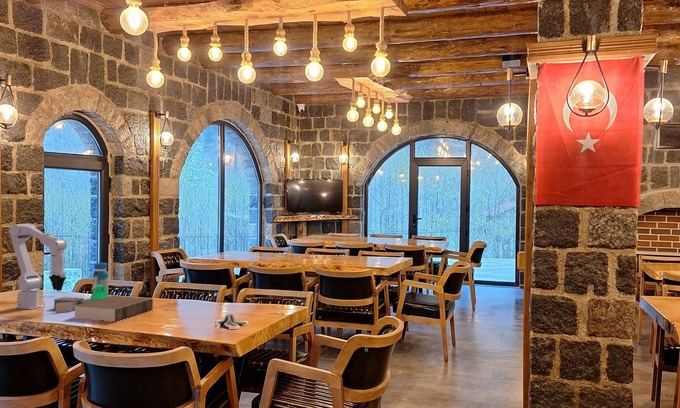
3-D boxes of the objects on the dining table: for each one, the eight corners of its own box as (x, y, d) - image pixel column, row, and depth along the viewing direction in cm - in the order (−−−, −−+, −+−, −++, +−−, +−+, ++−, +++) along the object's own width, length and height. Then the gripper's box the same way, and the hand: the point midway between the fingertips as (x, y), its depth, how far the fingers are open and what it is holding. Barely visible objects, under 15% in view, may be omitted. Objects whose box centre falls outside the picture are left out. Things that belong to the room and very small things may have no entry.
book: (152, 311, 285) (152, 298, 284) (116, 323, 258) (116, 309, 258) (112, 308, 291) (112, 295, 291) (73, 319, 264) (73, 305, 264)
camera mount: (97, 307, 291) (97, 288, 290) (88, 305, 295) (88, 286, 295) (117, 303, 301) (117, 285, 301) (108, 302, 305) (108, 283, 305)
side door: (56, 312, 275) (56, 303, 275) (55, 312, 276) (55, 303, 276) (74, 310, 280) (74, 302, 280) (74, 310, 282) (74, 301, 281)
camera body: (54, 309, 284) (54, 298, 284) (63, 306, 291) (64, 295, 291) (76, 310, 281) (76, 299, 281) (86, 308, 288) (86, 297, 288)
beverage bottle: (104, 299, 311) (104, 264, 311) (89, 299, 311) (89, 264, 311) (111, 297, 319) (111, 262, 319) (96, 296, 319) (96, 262, 319)
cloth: (219, 320, 266) (220, 307, 266) (255, 323, 261) (255, 310, 261) (196, 331, 244) (196, 317, 244) (235, 334, 240) (235, 320, 240)
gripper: (71, 264, 279) (71, 291, 279) (60, 261, 288) (60, 287, 289) (56, 265, 273) (56, 292, 274) (45, 262, 283) (45, 289, 283)
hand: (57, 290), depth 281 cm, fingers open, 4 cm apart
